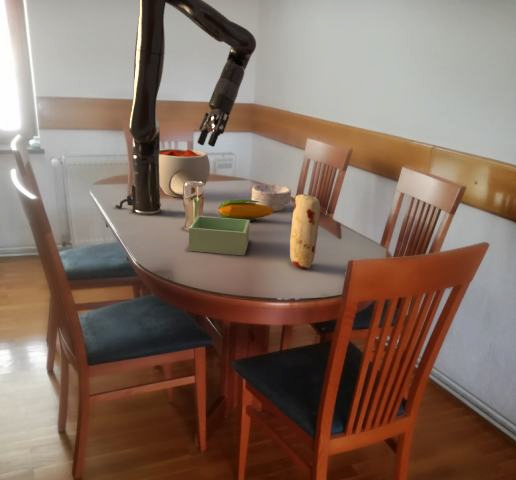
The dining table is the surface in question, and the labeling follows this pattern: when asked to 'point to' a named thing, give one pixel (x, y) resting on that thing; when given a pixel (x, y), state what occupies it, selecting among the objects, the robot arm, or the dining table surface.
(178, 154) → the pot
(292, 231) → the food model
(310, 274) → the dining table surface
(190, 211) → the beer glass
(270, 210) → the corn
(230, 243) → the tub
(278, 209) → the paper bowls
